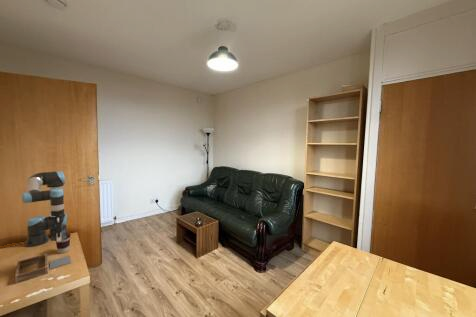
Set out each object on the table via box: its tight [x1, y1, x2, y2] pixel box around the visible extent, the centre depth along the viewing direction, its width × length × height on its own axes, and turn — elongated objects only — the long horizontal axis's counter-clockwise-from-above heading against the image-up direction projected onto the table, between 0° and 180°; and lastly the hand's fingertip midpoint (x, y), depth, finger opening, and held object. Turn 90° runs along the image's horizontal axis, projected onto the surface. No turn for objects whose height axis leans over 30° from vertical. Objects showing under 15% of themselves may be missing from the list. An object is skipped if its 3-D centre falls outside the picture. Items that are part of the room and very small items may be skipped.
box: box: [49, 223, 68, 242], centre depth 154 cm, size 8×6×11 cm
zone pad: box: [49, 255, 72, 270], centre depth 156 cm, size 12×12×1 cm
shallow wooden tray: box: [14, 253, 49, 284], centre depth 146 cm, size 22×15×5 cm
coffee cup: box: [55, 232, 71, 254], centre depth 171 cm, size 10×10×15 cm
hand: (58, 238), depth 155 cm, fingers closed on box, 9 cm apart
